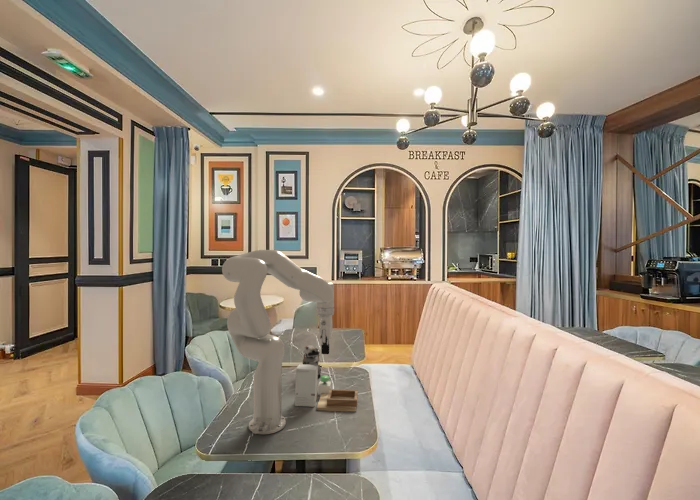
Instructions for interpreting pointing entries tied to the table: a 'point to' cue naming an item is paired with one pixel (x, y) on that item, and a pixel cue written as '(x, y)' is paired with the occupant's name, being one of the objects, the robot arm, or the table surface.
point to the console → (324, 387)
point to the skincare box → (306, 385)
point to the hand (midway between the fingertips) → (325, 353)
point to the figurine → (311, 357)
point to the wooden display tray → (338, 400)
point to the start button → (324, 379)
